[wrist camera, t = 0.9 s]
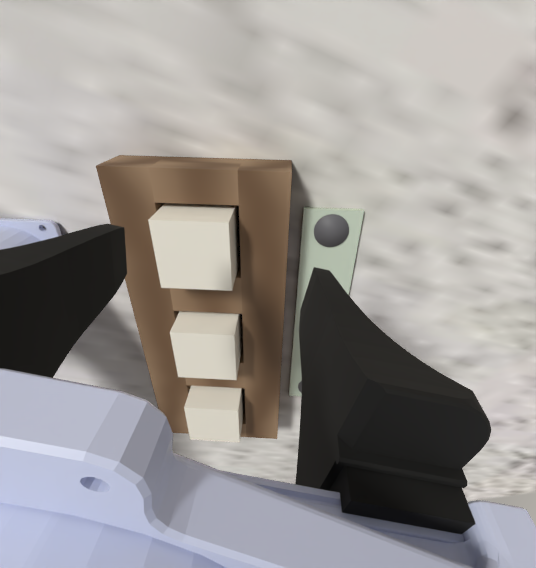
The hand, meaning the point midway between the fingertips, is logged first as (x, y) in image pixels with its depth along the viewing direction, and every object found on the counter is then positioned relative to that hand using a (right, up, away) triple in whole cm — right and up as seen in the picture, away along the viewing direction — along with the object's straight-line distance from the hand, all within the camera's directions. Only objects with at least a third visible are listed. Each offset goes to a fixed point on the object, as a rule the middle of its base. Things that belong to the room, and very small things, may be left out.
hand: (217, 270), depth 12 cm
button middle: (-2, -4, +13) cm, 14 cm away
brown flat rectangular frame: (-2, -3, +15) cm, 15 cm away
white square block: (-2, +3, +9) cm, 10 cm away
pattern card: (+6, -3, +15) cm, 16 cm away
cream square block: (-3, -11, +18) cm, 21 cm away
